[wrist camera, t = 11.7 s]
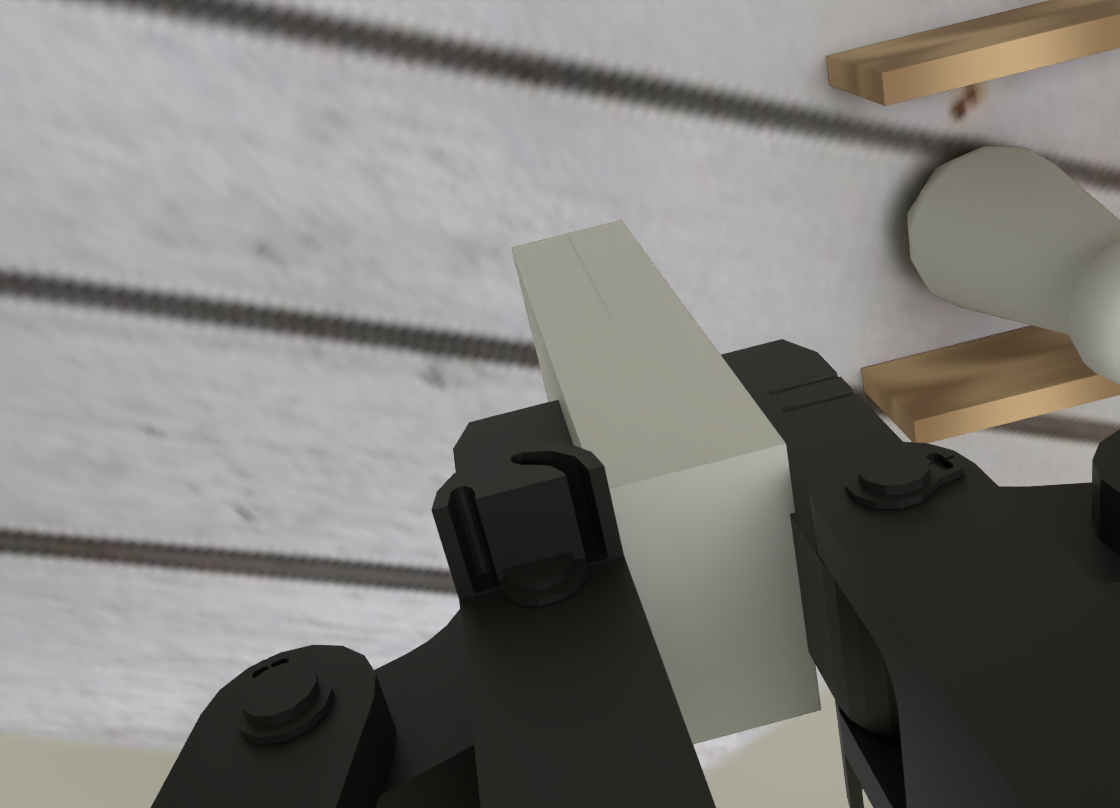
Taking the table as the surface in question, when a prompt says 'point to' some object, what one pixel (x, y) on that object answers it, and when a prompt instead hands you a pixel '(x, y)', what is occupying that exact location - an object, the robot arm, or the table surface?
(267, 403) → the table surface
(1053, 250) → the salt shaker
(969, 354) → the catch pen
